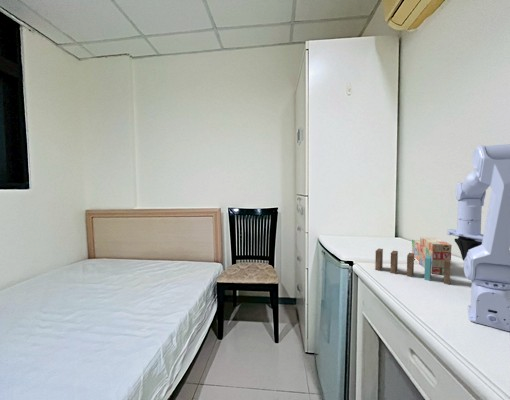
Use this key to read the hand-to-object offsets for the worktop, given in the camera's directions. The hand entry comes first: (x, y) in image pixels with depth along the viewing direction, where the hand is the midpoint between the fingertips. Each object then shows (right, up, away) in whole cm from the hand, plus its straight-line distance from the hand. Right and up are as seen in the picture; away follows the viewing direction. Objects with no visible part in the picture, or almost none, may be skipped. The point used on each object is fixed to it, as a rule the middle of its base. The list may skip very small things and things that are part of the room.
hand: (467, 260), depth 77 cm
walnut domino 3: (-10, -9, +14) cm, 19 cm away
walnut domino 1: (-18, -9, +21) cm, 29 cm away
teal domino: (-5, -9, +10) cm, 15 cm away
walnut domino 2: (-14, -9, +18) cm, 24 cm away
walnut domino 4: (-1, -9, +7) cm, 12 cm away
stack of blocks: (+5, -9, +24) cm, 26 cm away
